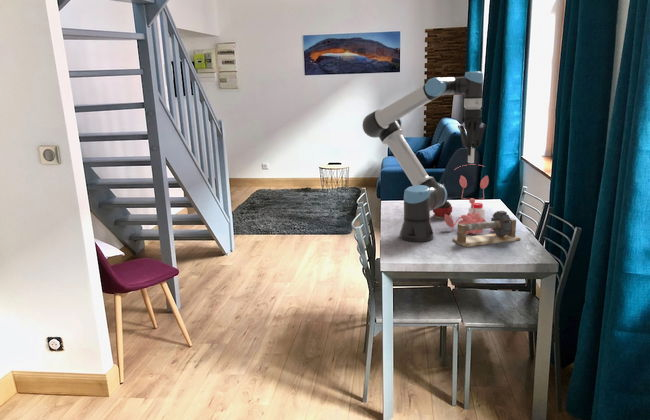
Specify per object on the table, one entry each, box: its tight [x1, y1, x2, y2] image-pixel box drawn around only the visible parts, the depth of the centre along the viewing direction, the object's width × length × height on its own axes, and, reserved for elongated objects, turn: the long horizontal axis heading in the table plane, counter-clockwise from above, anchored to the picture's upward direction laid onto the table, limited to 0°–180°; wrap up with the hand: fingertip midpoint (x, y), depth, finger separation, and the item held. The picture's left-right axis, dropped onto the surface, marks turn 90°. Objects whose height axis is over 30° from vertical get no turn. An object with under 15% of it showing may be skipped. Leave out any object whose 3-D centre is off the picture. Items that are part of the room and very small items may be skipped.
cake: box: [432, 183, 453, 220], centre depth 274 cm, size 11×9×18 cm
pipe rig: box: [452, 217, 521, 248], centre depth 234 cm, size 28×10×9 cm, turn 106°
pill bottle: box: [468, 202, 486, 222], centre depth 258 cm, size 8×8×11 cm
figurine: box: [443, 164, 496, 235], centre depth 252 cm, size 15×26×35 cm
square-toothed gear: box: [490, 210, 512, 237], centre depth 235 cm, size 3×11×11 cm, turn 16°
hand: (470, 162), depth 232 cm, fingers closed
